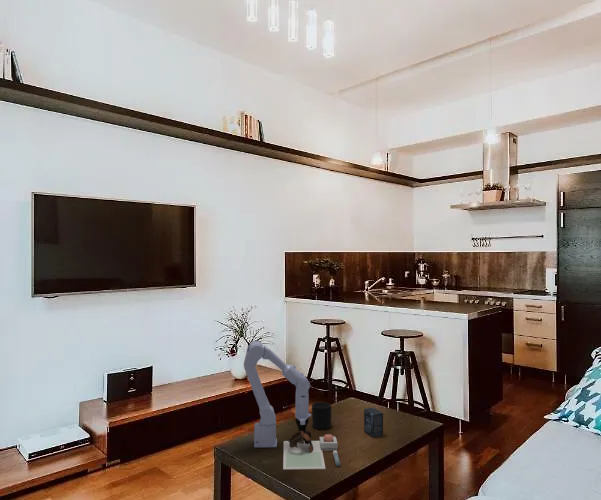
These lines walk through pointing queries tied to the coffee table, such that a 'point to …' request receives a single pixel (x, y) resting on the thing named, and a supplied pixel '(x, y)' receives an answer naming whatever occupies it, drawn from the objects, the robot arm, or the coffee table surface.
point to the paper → (303, 456)
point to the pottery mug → (301, 439)
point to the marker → (336, 458)
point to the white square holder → (328, 444)
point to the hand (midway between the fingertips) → (302, 435)
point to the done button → (328, 438)
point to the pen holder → (321, 415)
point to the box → (373, 422)
